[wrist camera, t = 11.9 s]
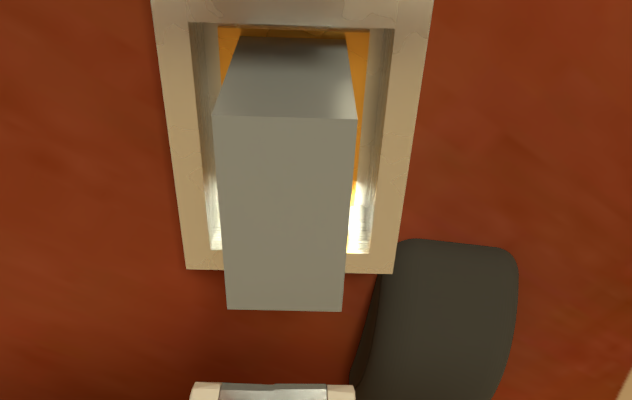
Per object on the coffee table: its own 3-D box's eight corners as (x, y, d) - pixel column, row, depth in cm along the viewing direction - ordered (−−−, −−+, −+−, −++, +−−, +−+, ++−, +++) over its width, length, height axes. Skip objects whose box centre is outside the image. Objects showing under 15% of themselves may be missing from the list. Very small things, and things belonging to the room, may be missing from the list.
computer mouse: (343, 389, 30) (347, 458, 27) (387, 230, 24) (398, 295, 21) (453, 399, 31) (469, 468, 27) (524, 246, 24) (557, 311, 21)
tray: (120, -496, 12) (-41, -765, 7) (478, -476, 12) (610, -722, 7) (198, 225, 23) (164, 346, 18) (384, 230, 23) (406, 351, 18)
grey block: (239, 35, 18) (211, 114, 13) (345, 39, 18) (357, 119, 13) (247, 198, 22) (227, 309, 17) (335, 201, 22) (341, 311, 17)
